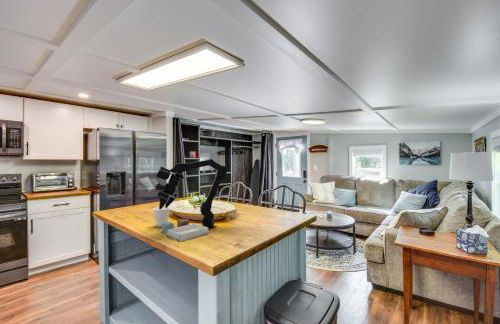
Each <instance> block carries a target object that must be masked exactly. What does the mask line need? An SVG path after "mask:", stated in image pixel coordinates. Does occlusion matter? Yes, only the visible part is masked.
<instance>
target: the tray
mask: <svg viewBox="0 0 500 324" xmlns="http://www.w3.org/2000/svg"><path fill="white" fill-rule="evenodd" d="M205 235H209V229H208V227H205V226H202V224H199V223H191V224H190V223H189V225H186V226H181V227H174V228H172V229H168V230H167V234H166V237H167V238H171V239H173V240H175V241H177V242H183V241H186V240H187V241H188V240H190V239H194V238H198V237H201V236H202V237H203V236H205Z"/></svg>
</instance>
